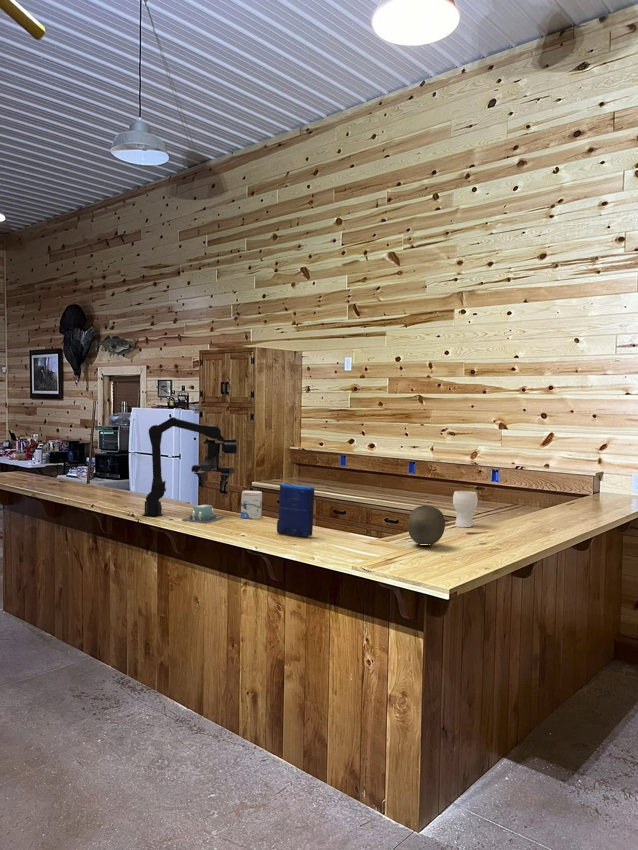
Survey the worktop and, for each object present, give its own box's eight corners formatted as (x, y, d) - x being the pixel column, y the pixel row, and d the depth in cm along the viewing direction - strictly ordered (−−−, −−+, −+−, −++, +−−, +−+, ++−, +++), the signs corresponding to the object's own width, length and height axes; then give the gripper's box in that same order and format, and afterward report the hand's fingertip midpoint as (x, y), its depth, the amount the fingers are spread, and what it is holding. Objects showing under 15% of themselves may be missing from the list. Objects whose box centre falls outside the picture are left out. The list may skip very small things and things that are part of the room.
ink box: (240, 518, 282) (241, 491, 282) (242, 516, 287) (243, 490, 287) (259, 519, 282) (260, 492, 281) (261, 517, 287) (262, 491, 286)
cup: (446, 525, 282) (448, 491, 282) (461, 523, 289) (462, 490, 289) (467, 529, 274) (468, 494, 274) (481, 527, 281) (482, 492, 281)
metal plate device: (182, 520, 271) (182, 510, 271) (198, 516, 284) (198, 506, 284) (207, 523, 267) (207, 513, 267) (222, 518, 280) (223, 508, 280)
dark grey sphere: (399, 543, 240) (400, 503, 240) (432, 541, 245) (433, 502, 245) (418, 551, 227) (419, 509, 227) (452, 549, 232) (454, 508, 232)
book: (274, 534, 249) (276, 483, 249) (282, 532, 254) (283, 481, 253) (307, 539, 242) (309, 486, 242) (313, 536, 247) (315, 485, 247)
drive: (193, 518, 273) (193, 506, 273) (202, 516, 280) (203, 504, 280) (202, 519, 271) (203, 507, 271) (211, 516, 279) (212, 505, 279)
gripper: (185, 453, 282) (184, 489, 282) (223, 456, 276) (222, 492, 276) (198, 452, 292) (197, 486, 293) (235, 454, 287) (234, 489, 287)
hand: (212, 488), depth 287 cm, fingers open, 9 cm apart
